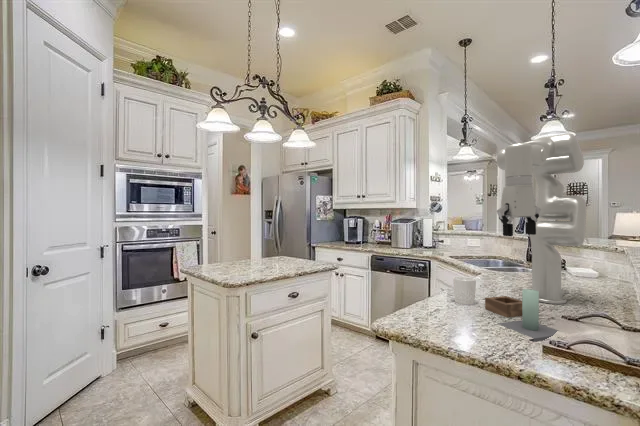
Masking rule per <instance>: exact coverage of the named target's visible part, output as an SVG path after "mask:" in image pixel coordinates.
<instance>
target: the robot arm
mask: <svg viewBox="0 0 640 426" xmlns="http://www.w3.org/2000/svg"><path fill="white" fill-rule="evenodd" d="M580 145H581V144H580V142H579V140H578V138H577V137H576V136H575V135H574V134H573V133H562V134H556V135H549V136H548V135H547V136H543V137H539V138H537V139H533V140H530V141H525V142H521V143H520V142H518V143H513V144H509V145H506V147H504V148H502V149H500V150H499V151H498V153H497V155H496V164H497V166H498V168H499V169H500V170H502V171H504V177H505V178H504V180H505V181H504V187H503V189H502V193H501V204H500V207H499V208H498V209H497V210H496V213H497V216H498V219H499V220H500V223H501V224H502V236H503V237H513V236H514V225H513V223H512V222H513V221H514V219H515V218H524V219H525V220H526V221H525V235H529V238H530V244H531V289H532V290H537V291H539V303H545V304H552V305H553V304H554V305H555V304H556V305H563V304H566V303H567V298H565V297H563V296H564V295H568V294H570V290H569V289H567V288H564V289H563V288H562V256H561V254H560V252H559V251H558V250H557V249H556V248H555V247H554V246H564V247H579V246H582V245H583V244H584V243H585V239H586V238H585V237H586V228H587V227H586V224H587V203H586V200H585V199H584V198H583V196H579V195H564V191H565V190H564V189H565V188H564V187H565V186H564V185H563V183H562V182H561V181H560V180H559V179H558V178H556V177H554V176H553V175H560V174H575V173H578V172H580V171H581V170H582V169H583V167H584V164H585V159H584V156H583V151H582V149H581V146H580ZM533 178H534V179H535V181H536V184H537V187H538V188H537V189H538V190H537V192H538V193H537V200H536V195H535V189H534V186H533V185H534V184H533V183H534V181H533V180H534V179H533ZM536 201H537V202H536ZM538 219H543V220H538Z"/></svg>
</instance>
